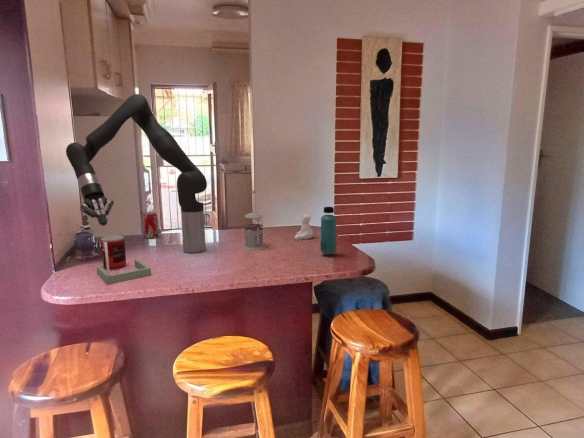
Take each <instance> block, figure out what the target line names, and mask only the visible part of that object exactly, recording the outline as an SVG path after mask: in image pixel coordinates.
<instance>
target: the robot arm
mask: <svg viewBox="0 0 584 438" xmlns="http://www.w3.org/2000/svg"><path fill="white" fill-rule="evenodd" d="M154 115H155V114H154V113H153V111H152V109H151V107H150V105H149V102H148V100H147V98H146V97H145V96H144V95H143V94H139V93H135V94H132V95H130V96H128V97H127V98H126V99H125V100H124V101H123V103H121V105H120V106H119V107H118V108H117V109H116V110H115V111H114V112H113V113H112V114H111V115H110V116H109V117H108V118H107V119H106V120H105V121H104V122H103V123H102V124H100V126H98V127H96V128H95V129H94V130H93V131H92V132H90V133H89V134H88V135H87V136H86V137H85V142H86V143H85V145H82V144H81V143H78V142H71V143H69V144H67V146H66V149H65V153H66V157H67V159H68V161H69V163H70V166H71V167H72V169H73V171H74V173H75V174H74V175H75V177H76V179H77V183H78V187H79V190H80V192H81V196H82V199H83V204H80V207H79V211H81V212H82V213H84V214H86V215H87V216H88V217H90V218H93V219H94V218H95V219H97V222H98V225H100V226H101V227H104V226H107V223H108V218H107V216H109V214H110V212H111V210H112V208H113V206H114V203H115V201H114V200H108V198H107V197H106V196H105V193H104V190H103V189H102V186H101V182H100V181H99V178H98V176H97V173H96V172H95V168H94V167H93V165H92V164H91V163H90V162H92V160H94V158H95V156H97V154H98V153H99V151H100V150H101V149H102V148H104V147H105V146H106V145H107V144H109V143H110V142H111V141H112V140H113V139H114V138H115V137H116V135H117V134H118V132H119V131H120V129H121V128H122V126H123V125H124V123H126V122H127V121H128V120H129V119H132V120H133V122H134V123H136V125H137V126H138V127H139V128H141V130H142V131H143V132H144V134H145V135H146V137H147V140H148V141H149V143H150V145H151V146H152V147H153V149H154V151H155V152H156V153H157V155H158V156H159V157H160V158H161V159H162V160H163V161H165V162H166V163H167V164H170V166H173V167H174V168H175V169H177V170H178V171H179V172H181V173H180V174H178V177H177V179H176V180H177V181H176V190H177V199H178V201H177V202H178V204H179V207H180V214H181V234H182V236H181V237H182V249H183V252H184V253H187V254H196V253H198V254H199V253H202V252H206V248H207V247H206V230H205V229H206V227H205V213H204V211H205V209H204V208H205V207H204V203H203V202H201V201H197V198H196V197H197V196H196V195H197V194H200V193H204V192H205V191H206V189H207V186H208V183H207V178H206V176H205V174H203V172H202V171H201V170H200V169H199V168H198V166H196V165H195V164H194V162H192V161H191V159H190V157H189V156H188V155H187V154H186V153H185V152H184V150H183V149H182V148H181V146H180V145H179V144H178V142H177V141H176V139H175V138H174V136H173V135H172V134H171V133H170V132H169V131H168V130H167V129H166V128H164V126H162V125H161V124H160V123H159V122H158V120H157V119H156V117H155V116H154ZM105 206H107V208H106V210H105Z"/></svg>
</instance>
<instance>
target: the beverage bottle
mask: <svg viewBox="0 0 584 438" xmlns="http://www.w3.org/2000/svg"><path fill="white" fill-rule="evenodd" d="M323 213H324V215H322V216H321V217H320V252H321V253H322V254H327V255H330V254H335V253H336V252H337V217H336V215H334V214H333V213H335V209H334V207H333V206H325V207H323Z"/></svg>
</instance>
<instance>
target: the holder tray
mask: <svg viewBox="0 0 584 438" xmlns="http://www.w3.org/2000/svg"><path fill="white" fill-rule="evenodd" d="M103 247H104V248H105V257H106V267H107V269H106V270H105V268H103V267H102V266H101V265H97V266H96V273H97V275H99V277H100V278H101V279H102V280H104V282H105V283H106V284H107V285H110V284H115V283H119V282H124V281H129V280H134V279H138V278H144V277H148V276H152V268H151V267H150V266H148V265H147V264H146V263H144V262H143V261H142V260H140V259H138V258H135V259H134V266H135V267H136V268H137V269H134V270H129V271H125V272H119V273H114V274H111V271H110V270H111V269H109V260H108V249H107V242H104V241H103Z"/></svg>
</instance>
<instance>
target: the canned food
mask: <svg viewBox="0 0 584 438" xmlns="http://www.w3.org/2000/svg"><path fill="white" fill-rule="evenodd" d="M103 241H104V242H107V249H108V260H109V270H116V269H117V270H118V269H122V268H124V267H125V266H127V256H126V246H125V245H126V244H125V243H126V242H125V237H124V236H123V235H105V236H103V237H101V238H100V243H101V254H102V255H101V256H102V264H103V265H102V266H103V267H104V269H106V270H107V267H106V257H105V248H104V247H103Z"/></svg>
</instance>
